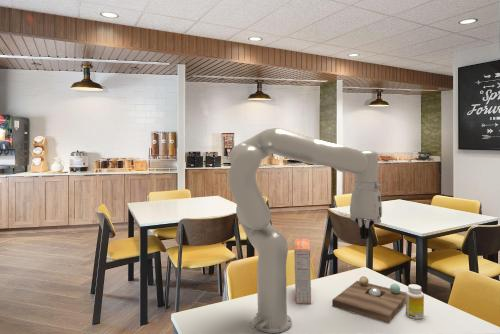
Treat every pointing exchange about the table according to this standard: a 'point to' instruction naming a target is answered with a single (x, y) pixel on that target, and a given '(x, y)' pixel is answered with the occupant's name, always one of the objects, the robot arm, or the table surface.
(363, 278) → the beech ball
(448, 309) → the table surface
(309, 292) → the cracker box
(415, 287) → the supplement bottle
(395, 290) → the teal ball
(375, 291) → the steel ball
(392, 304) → the wooden board
